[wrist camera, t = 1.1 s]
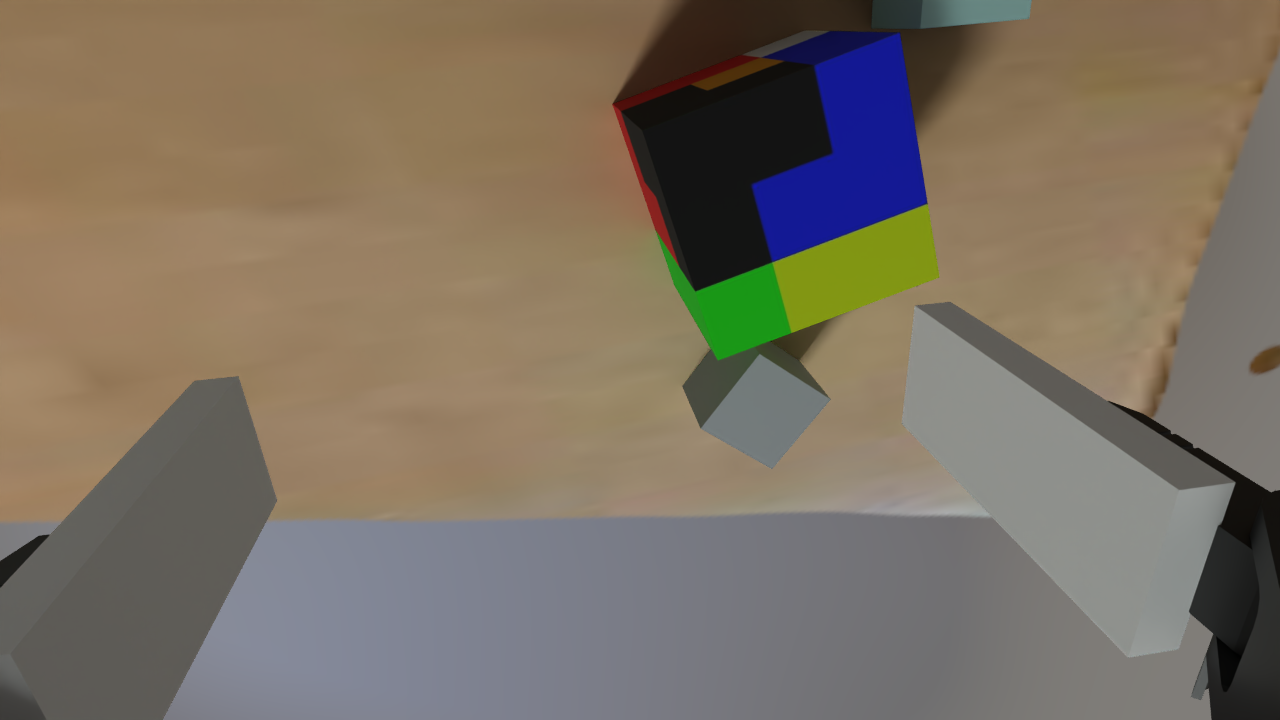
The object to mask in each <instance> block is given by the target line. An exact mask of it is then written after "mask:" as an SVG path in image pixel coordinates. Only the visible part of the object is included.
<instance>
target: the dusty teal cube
mask: <svg viewBox="0 0 1280 720" xmlns="http://www.w3.org/2000/svg"><path fill="white" fill-rule="evenodd" d="M1031 1H1032V0H873V4H872V24H871V28H881V29H924V28H935V27H945V26H956V25H967V24H977V23H988V22H999V21H1009V20H1020V19H1029V16H1030V8H1031Z"/></svg>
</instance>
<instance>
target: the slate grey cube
mask: <svg viewBox="0 0 1280 720" xmlns="http://www.w3.org/2000/svg"><path fill="white" fill-rule="evenodd" d="M682 387H683V389H684V391H685V394H686V396H687V398H688V401H689V403H690V405H691V407H692V410H693V412H694V414H695V417H696V419H697V421H698V423H699V426H700V428H701V429H702V430H704V431H706V432H708V433H709V434H711V435H713V436H715V437H717V438H718V439H720V440H722V441H724V442H725V443H727V444H729V445H731V446H732V447H734V448H736V449H738V450H739V451H741V452H743V453H745V454H746V455H748V456H750V457H752V458H753V459H755V460H757V461H759V462H760V463H762V464H764V465H766V466H767V467H769V468H771V469H772V468H773V467H774V466H775V465H776V464H777V463H778V461H779V460H780V459H781V458H782V457H783V455H784V454H785V453H786V452H787V451H788V449H789V448H790V447H791V446H792V445H793V444H794V442H795V441H796V440H797V439H798V438H799V436H800V435H801V434H802V433H803V432H804V430H805V429H806V428H807V427H808V426H809V425H810V423H811V422H812V421H813V420H814V419H815V417H816V416H817V415H818V414H819V413H820V411H821V410H822V409H823V408H824V407H825V406H826V404H827V403H828V402H829V401H830V400H831V399H830V398H829V397H828V395H827V394H826V393H825V392H824V391H823V389H822V388H821V387H820V386H819V384H818V383H817V382H816V381H815V380H814V378H813V377H812V376H811V375H810V373H809V372H808V371H807V370H806V369H805V367H804V366H803V365H802V364H801V362H800V361H799V360H797V359H796V358H794V357H793V356H791V355H790V354H788V353H786V352H785V351H783V350H782V349H780V348H779V347H777V346H776V345H774V344H773V343H771V342H770V341H769V342H766V343H764V344H761V345H758V346H756V347H753V348H750V349H748V350H745V351H742V352H740V353H737V354H734V355H732V356H729V357H726V358H724V359H721V360H717V358H716V357H715V355H714V353H713V351H712V350H710V351H709V352H708V354H707V355H706V356H705V357H704V359H703V360H702V361H701V363H700V364H699V365H698V367H697V368H696V369H695V371H694V372H693V373H692V374H691V376H690V377H689V378H688V380H687V381H686V382H685V384H684V385H683V386H682Z"/></svg>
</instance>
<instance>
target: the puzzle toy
mask: <svg viewBox="0 0 1280 720" xmlns="http://www.w3.org/2000/svg"><path fill="white" fill-rule="evenodd" d="M613 107H614V110H615V113H616V116H617V119H618V122H619V124H620V127H621V130H622V133H623V136H624V139H625V142H626V145H627V148H628V151H629V154H630V157H631V160H632V162H633V165H634V168H635V171H636V174H637V177H638V180H639V183H640V186H641V189H642V192H643V195H644V198H645V201H646V203H647V206H648V209H649V212H650V215H651V218H652V221H653V224H654V227H655V230H656V233H657V236H658V239H659V241H660V244H661V247H662V250H663V253H664V256H665V259H666V262H667V265H668V268H669V271H670V274H671V277H672V280H673V282H674V285H675V287H676V289H677V291H678V292H679V294H680V296H681V298H682V299H683V301H684V303H685V305H686V306H687V308H688V310H689V312H690V313H691V315H692V317H693V318H694V320H695V322H696V324H697V325H698V327H699V329H700V331H701V332H702V334H703V336H704V338H705V339H706V341H707V343H708V344H709V346H710V348H711V350H712V351H713V353H714V355H715V357H716V358H717V360H721V359H724V358H726V357H729V356H732V355H734V354H737V353H740V352H742V351H745V350H748V349H750V348H753V347H756V346H758V345H761V344H764V343H766V342H769V341H772V340H774V339H777V338H780V337H782V336H785V335H788V334H790V333H793V332H796V331H798V330H801V329H803V328H806V327H809V326H811V325H814V324H817V323H819V322H822V321H825V320H827V319H830V318H833V317H835V316H838V315H841V314H843V313H846V312H849V311H851V310H854V309H857V308H859V307H862V306H865V305H867V304H870V303H873V302H875V301H878V300H881V299H883V298H886V297H889V296H891V295H894V294H897V293H899V292H902V291H904V290H907V289H910V288H912V287H915V286H918V285H920V284H923V283H926V282H928V281H931V280H934V279H936V278H939V271H938V265H937V258H936V252H935V246H934V240H933V234H932V228H931V221H930V215H929V209H928V203H927V197H926V191H925V184H924V178H923V172H922V166H921V160H920V154H919V147H918V141H917V135H916V129H915V123H914V117H913V110H912V104H911V98H910V92H909V86H908V80H907V73H906V67H905V61H904V55H903V49H902V43H901V36H900V32H858V31H811V30H805V31H802V32H800V33H797V34H794V35H792V36H789V37H787V38H784V39H781V40H779V41H776V42H774V43H771V44H768V45H766V46H763V47H760V48H758V49H755V50H753V51H750V52H747V53H745V54H742V55H740V56H737V57H734V58H732V59H729V60H726V61H724V62H721V63H719V64H716V65H713V66H711V67H708V68H705V69H703V70H700V71H698V72H695V73H692V74H690V75H687V76H685V77H682V78H679V79H677V80H674V81H671V82H669V83H666V84H664V85H661V86H658V87H656V88H653V89H651V90H648V91H645V92H643V93H640V94H637V95H635V96H632V97H630V98H627V99H624V100H622V101H619V102H616V103H614V104H613Z"/></svg>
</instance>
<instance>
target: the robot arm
mask: <svg viewBox="0 0 1280 720" xmlns="http://www.w3.org/2000/svg"><path fill="white" fill-rule="evenodd" d="M902 424H903V425H904V427H905V428H906V429H907V430H908V431H909V432H910V433H911V434H912V435H913V436H914V437H915V438H916V439H917V440H918V441H919V442H920V443H921V444H922V445H923V446H924V447H925V448H926V449H927V450H928V451H929V452H930V453H931V454H932V455H933V457H934V458H935V459H936V460H937V461H938V462H939V463H940V464H941V465H942V466H943V467H944V468H945V469H946V470H947V471H948V472H949V473H950V474H951V475H952V476H953V477H954V478H955V479H956V480H957V481H958V482H959V483H960V484H961V485H962V486H963V488H964V489H965V490H966V491H967V492H968V493H969V494H970V495H971V496H972V497H973V498H974V499H975V500H976V501H977V502H978V503H979V504H980V505H981V506H982V507H983V508H984V509H985V510H986V511H987V512H988V513H989V514H990V515H991V516H992V518H993V519H994V520H995V521H997V523H998V524H999V525H1000V526H1001V527H1002V528H1003V529H1004V530H1005V531H1006V532H1007V533H1008V534H1009V535H1010V536H1011V537H1012V538H1013V539H1014V540H1015V541H1016V542H1017V543H1018V544H1019V545H1020V546H1021V547H1022V549H1023V550H1024V551H1025V552H1026V553H1027V554H1028V555H1030V557H1031V558H1032V559H1033V560H1034V561H1035V562H1036V563H1037V564H1038V565H1039V566H1040V567H1041V568H1042V569H1043V570H1044V571H1045V572H1046V573H1047V574H1048V575H1049V576H1050V577H1051V578H1052V580H1053V581H1054V582H1055V583H1056V584H1057V585H1058V586H1059V587H1060V588H1061V589H1062V590H1063V591H1064V592H1065V593H1066V594H1067V595H1068V596H1069V597H1070V598H1071V599H1072V600H1073V601H1074V602H1075V603H1076V604H1077V605H1078V606H1079V607H1080V609H1081V610H1082V611H1083V612H1084V613H1085V614H1086V615H1087V616H1088V617H1089V618H1090V619H1091V620H1092V621H1093V622H1094V623H1095V624H1096V625H1097V626H1098V627H1099V628H1100V629H1101V630H1102V631H1103V632H1104V633H1105V634H1106V635H1107V636H1108V637H1109V639H1111V641H1112V642H1113V643H1114V644H1115V645H1116V646H1117V647H1118V648H1119V649H1120V650H1121V651H1122V652H1123V653H1124V654H1125V655H1126V656H1127V657H1128V658H1129V657H1135V656H1140V655H1147V654H1153V653H1159V652H1165V651H1171V650H1177V649H1179V646H1180V643H1181V641H1182V637H1183V635H1184V632H1185V629H1186V626H1187V623H1188V619H1189V617H1190V614H1192V615H1193V616H1194V617H1195V618H1196V619H1197V620H1198V621H1200V622H1201V623H1202V624H1203V625H1204V626H1205V627H1207V628H1208V629H1209V630H1210V631H1211V632H1212V633H1213V636H1212V639H1211V642H1210V645H1209V648H1208V650H1207V653H1206V656H1205V658H1204V661H1203V664H1202V666H1201V669H1200V672H1199V675H1198V678H1197V680H1196V683H1195V686H1194V689H1193V692H1192V696H1191V697H1193V698H1196V699H1199V700H1201V699H1202V696H1203V694H1204V691H1205V690H1206V689H1208V688H1209V695H1210V707H1211V718H1212V720H1280V490H1278V491H1274V492H1269V491H1268V490H1266V489H1264V488H1263V487H1261V486H1260V485H1258V484H1256V483H1255V482H1253V481H1251V480H1250V479H1248V478H1246V477H1245V476H1243V475H1242V474H1240V473H1238V472H1237V471H1235V470H1233V469H1232V468H1230V467H1229V466H1227V465H1226V464H1224V463H1222V462H1221V461H1219V460H1217V459H1216V458H1214V457H1213V456H1211V455H1209V454H1208V453H1206V452H1204V451H1203V450H1201V449H1200V448H1193V444H1191V443H1190V442H1188V441H1187V440H1185V439H1183V438H1182V437H1180V436H1178V435H1176V434H1171V431H1170V430H1168V429H1167V428H1165V427H1164V426H1162V425H1160V424H1159V423H1157V422H1156V421H1154V420H1153V419H1151V418H1149V417H1148V416H1146V415H1144V414H1142V413H1140V412H1137V411H1134V410H1132V409H1129V408H1126V407H1124V406H1121V405H1118V404H1116V403H1113V402H1110V401H1106V400H1105V399H1103V398H1102V397H1100V396H1098V395H1097V394H1095V393H1094V392H1092V391H1090V390H1089V389H1087V388H1086V387H1084V386H1083V385H1081V384H1079V383H1078V382H1076V381H1075V380H1073V379H1071V378H1070V377H1068V376H1067V375H1065V374H1064V373H1062V372H1060V371H1059V370H1057V369H1056V368H1054V367H1052V366H1051V365H1049V364H1048V363H1046V362H1045V361H1043V360H1041V359H1040V358H1038V357H1037V356H1035V355H1034V354H1032V353H1030V352H1029V351H1027V350H1026V349H1024V348H1022V347H1021V346H1019V345H1018V344H1016V343H1015V342H1013V341H1011V340H1010V339H1008V338H1007V337H1005V336H1003V335H1002V334H1000V333H999V332H997V331H996V330H994V329H992V328H991V327H989V326H988V325H986V324H984V323H983V322H981V321H980V320H978V319H977V318H975V317H973V316H972V315H970V314H969V313H967V312H966V311H964V310H962V309H961V308H959V307H958V306H956V305H954V304H953V303H951V302H945V303H935V304H926V305H916V306H915V309H914V318H913V327H912V336H911V345H910V354H909V363H908V372H907V381H906V390H905V399H904V408H903V417H902ZM276 502H277V498H276V495H275V492H274V489H273V486H272V482H271V479H270V476H269V473H268V470H267V466H266V463H265V460H264V457H263V453H262V450H261V447H260V444H259V441H258V437H257V434H256V431H255V428H254V425H253V421H252V418H251V415H250V412H249V409H248V405H247V402H246V399H245V396H244V393H243V389H242V386H241V383H240V380H239V376H236V377H227V378H217V379H208V380H198V381H194V382H193V383H192V384H191V385H190V386H189V387H188V388H187V389H186V390H185V391H184V393H183V394H182V395H181V396H180V397H179V398H178V399H177V400H176V401H175V402H174V403H173V404H172V405H171V406H170V407H169V409H168V410H167V411H166V412H165V413H164V414H163V415H162V416H161V417H160V418H159V419H158V420H157V421H156V422H155V423H154V425H153V426H152V427H151V428H150V429H149V430H148V431H147V432H146V433H145V434H144V435H143V436H142V437H141V438H140V439H139V441H138V442H137V443H136V444H135V445H134V446H133V447H132V448H131V449H130V450H129V451H128V452H127V453H126V454H125V455H124V457H123V458H122V459H121V460H120V461H119V462H118V463H117V464H116V465H115V466H114V467H113V468H112V469H111V470H110V471H109V473H108V474H107V475H106V476H105V477H104V478H103V479H102V480H101V481H100V482H99V483H98V484H97V485H96V486H95V487H94V489H93V490H92V491H91V492H90V493H89V494H88V495H87V496H86V497H85V498H84V499H83V500H82V501H81V502H80V503H79V505H78V506H77V507H76V508H75V509H74V510H73V511H72V512H71V513H70V514H69V515H68V516H67V517H66V518H65V519H64V521H63V522H62V523H61V524H60V525H59V526H58V527H57V528H56V529H55V530H54V531H53V532H52V533H51V534H50V535H42V536H38V537H36V538H35V539H34V540H32V541H30V542H29V543H27V544H26V545H24V546H23V547H21V548H20V549H18V550H17V551H15V552H14V553H12V554H11V555H9V556H7V557H6V558H4V559H3V560H1V561H0V720H163V718H164V716H165V715H166V713H167V711H168V709H169V707H170V705H171V703H172V701H173V699H174V697H175V695H176V693H177V691H178V690H179V688H180V686H181V684H182V682H183V680H184V678H185V676H186V674H187V672H188V670H189V669H190V666H191V665H192V663H193V661H194V659H195V657H196V655H197V653H198V651H199V649H200V647H201V646H202V644H203V641H204V640H205V638H206V636H207V634H208V632H209V630H210V628H211V626H212V624H213V623H214V621H215V619H216V617H217V615H218V613H219V611H220V609H221V607H222V605H223V603H224V601H225V600H226V598H227V596H228V594H229V592H230V590H231V588H232V586H233V584H234V582H235V580H236V578H237V576H238V575H239V573H240V571H241V569H242V567H243V565H244V563H245V561H246V559H247V557H248V556H249V554H250V552H251V550H252V548H253V546H254V544H255V542H256V540H257V538H258V536H259V534H260V532H261V531H262V529H263V527H264V525H265V523H266V521H267V519H268V517H269V515H270V513H271V511H272V510H273V508H274V506H275V504H276Z"/></svg>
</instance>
